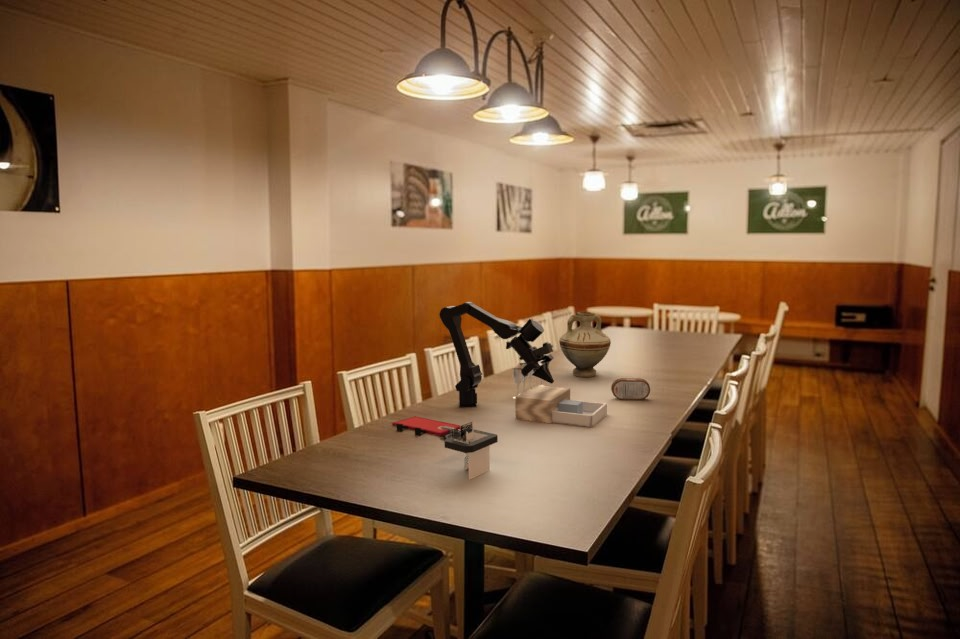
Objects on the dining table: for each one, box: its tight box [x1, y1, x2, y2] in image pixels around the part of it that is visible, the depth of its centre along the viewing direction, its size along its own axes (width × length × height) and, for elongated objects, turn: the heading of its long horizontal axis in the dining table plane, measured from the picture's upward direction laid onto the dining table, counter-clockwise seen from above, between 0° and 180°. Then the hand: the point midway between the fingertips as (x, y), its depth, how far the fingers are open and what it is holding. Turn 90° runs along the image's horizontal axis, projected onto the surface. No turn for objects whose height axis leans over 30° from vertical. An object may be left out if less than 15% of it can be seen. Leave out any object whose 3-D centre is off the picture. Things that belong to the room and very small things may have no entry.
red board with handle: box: [391, 416, 463, 439], centre depth 209 cm, size 30×3×15 cm
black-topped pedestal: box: [444, 420, 499, 481], centre depth 169 cm, size 28×26×13 cm
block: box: [558, 399, 584, 414], centre depth 222 cm, size 5×6×7 cm
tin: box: [610, 377, 651, 401], centre depth 246 cm, size 15×3×8 cm, turn 84°
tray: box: [552, 399, 608, 428], centre depth 220 cm, size 15×18×4 cm
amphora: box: [558, 311, 612, 378], centre depth 291 cm, size 24×24×30 cm
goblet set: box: [511, 362, 546, 400], centre depth 261 cm, size 28×6×13 cm, turn 150°
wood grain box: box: [514, 384, 571, 424], centre depth 226 cm, size 13×20×8 cm
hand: (553, 382), depth 224 cm, fingers closed
